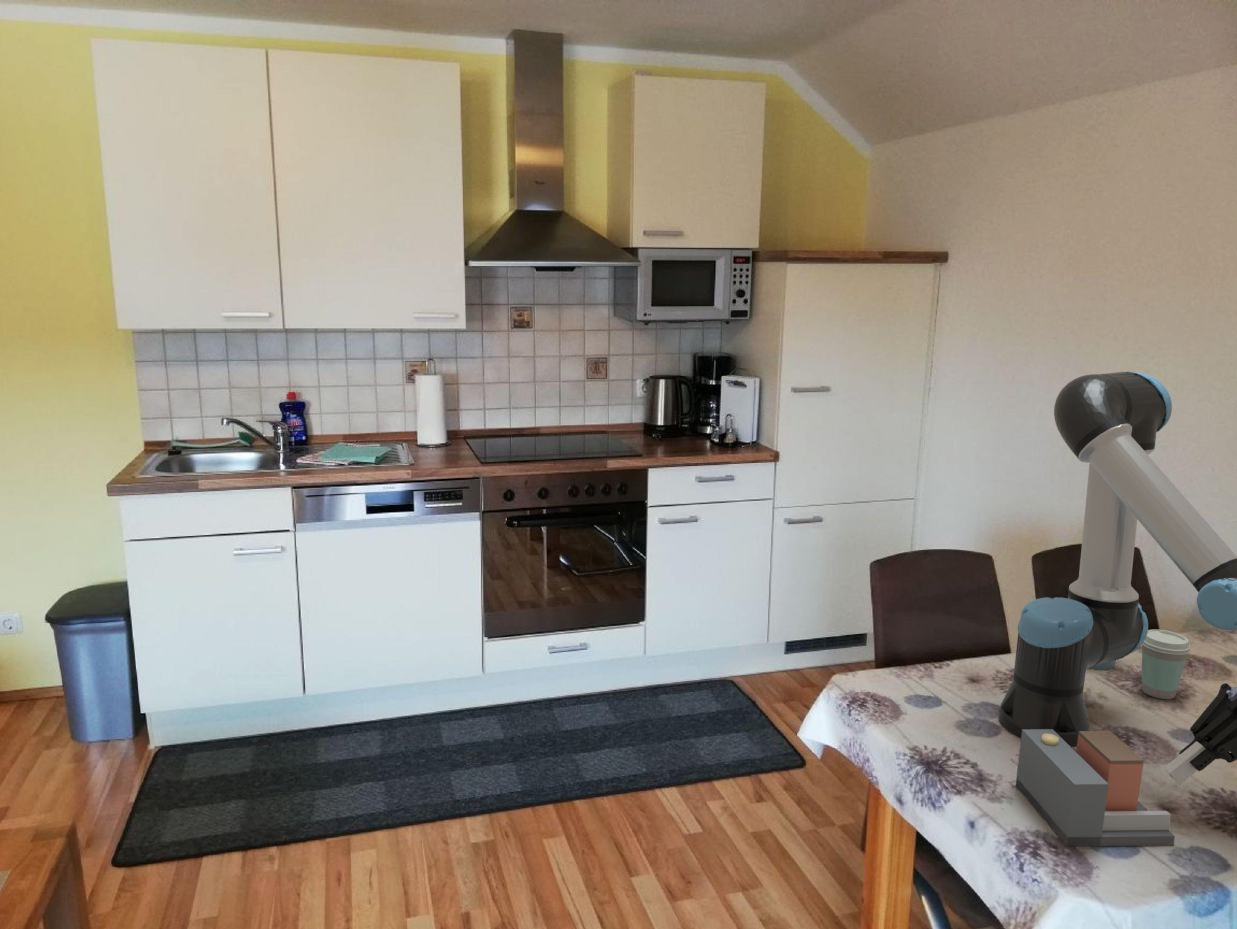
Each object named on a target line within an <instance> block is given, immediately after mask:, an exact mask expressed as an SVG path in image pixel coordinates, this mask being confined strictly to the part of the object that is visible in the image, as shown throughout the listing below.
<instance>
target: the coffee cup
mask: <svg viewBox="0 0 1237 929" xmlns="http://www.w3.org/2000/svg"><path fill="white" fill-rule="evenodd" d="M1191 650H1192V649H1191V645H1190V642H1189V639H1188V638H1187V637H1186V636H1184V635H1182V634H1180V633H1177V632H1174V631H1172V630H1164V629H1148V633H1147V636H1146V639H1145V641H1144V642H1143V644H1142V645H1141V691H1142V692H1143V693H1144V694H1146V695H1148V696H1150V697H1153V698H1156V699H1160V700H1161V699H1162V700H1173V699H1174V698H1176V695H1177V693H1178V692H1177V691H1178V688H1179V685H1180V681H1181V678H1182V675H1183V671H1184V669H1185V665H1186V662H1187V657H1188V654H1190V653H1191Z"/></svg>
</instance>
